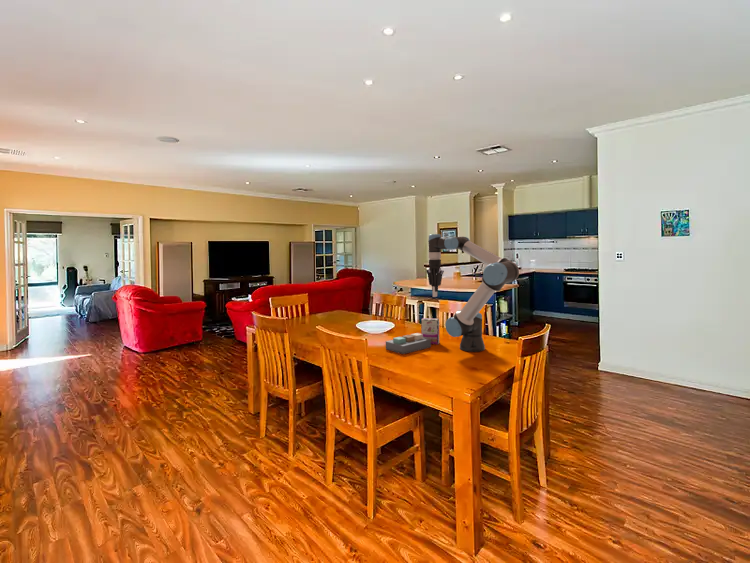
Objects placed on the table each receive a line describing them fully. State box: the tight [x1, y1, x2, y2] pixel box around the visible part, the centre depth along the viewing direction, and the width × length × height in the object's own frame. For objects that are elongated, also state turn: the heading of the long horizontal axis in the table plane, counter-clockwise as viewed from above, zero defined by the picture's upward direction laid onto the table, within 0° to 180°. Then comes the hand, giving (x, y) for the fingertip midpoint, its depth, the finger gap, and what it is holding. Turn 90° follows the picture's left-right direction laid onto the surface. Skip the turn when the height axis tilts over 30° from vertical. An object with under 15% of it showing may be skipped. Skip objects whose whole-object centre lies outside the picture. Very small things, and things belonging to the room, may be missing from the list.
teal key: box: [392, 336, 406, 344], centre depth 250 cm, size 6×6×4 cm
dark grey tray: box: [385, 338, 432, 355], centre depth 255 cm, size 16×24×5 cm, turn 129°
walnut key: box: [401, 334, 415, 342], centre depth 255 cm, size 6×6×4 cm
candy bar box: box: [420, 317, 440, 345], centre depth 266 cm, size 11×5×16 cm, turn 70°
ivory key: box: [410, 332, 423, 340], centre depth 260 cm, size 6×6×4 cm
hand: (435, 296), depth 253 cm, fingers closed
